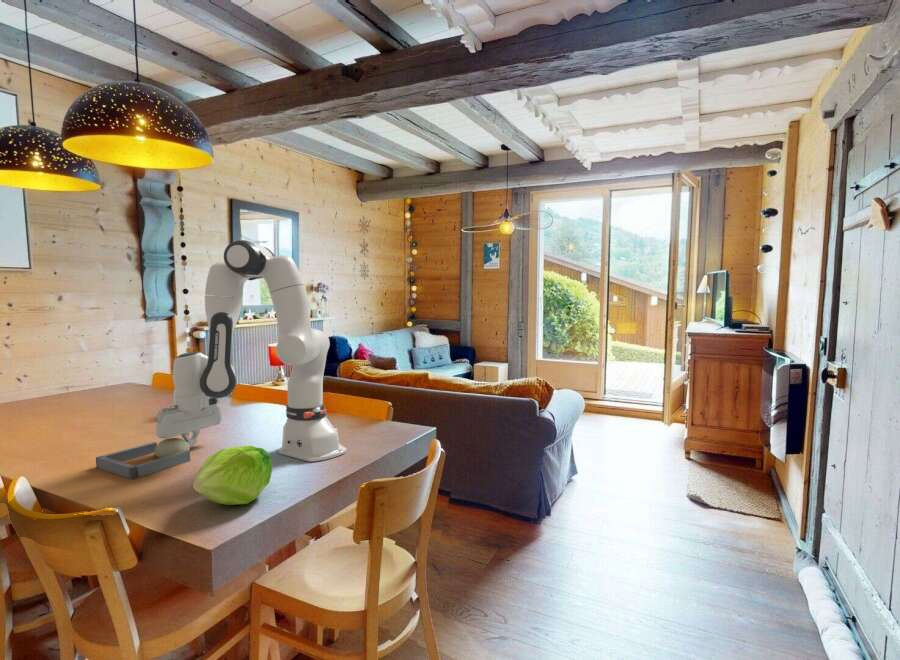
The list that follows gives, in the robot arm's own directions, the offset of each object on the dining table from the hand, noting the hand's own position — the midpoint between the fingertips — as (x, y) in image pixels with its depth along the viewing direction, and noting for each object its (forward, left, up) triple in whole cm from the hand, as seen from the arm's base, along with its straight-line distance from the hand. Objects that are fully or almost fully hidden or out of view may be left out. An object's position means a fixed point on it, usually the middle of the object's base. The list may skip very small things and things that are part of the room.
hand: (190, 444), depth 152 cm
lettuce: (-48, +7, -2) cm, 48 cm away
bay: (-4, +14, -2) cm, 15 cm away
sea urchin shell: (-2, +6, -2) cm, 6 cm away
